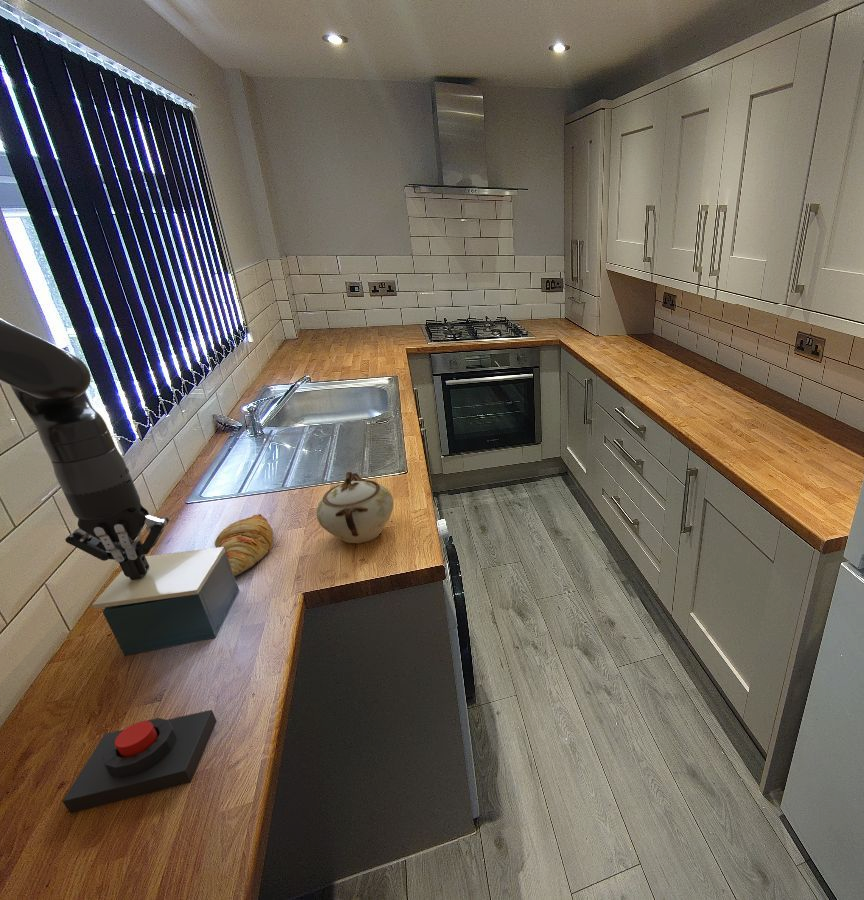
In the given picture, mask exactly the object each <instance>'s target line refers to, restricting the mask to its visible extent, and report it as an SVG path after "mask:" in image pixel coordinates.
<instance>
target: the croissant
mask: <svg viewBox="0 0 864 900" xmlns="http://www.w3.org/2000/svg"><path fill="white" fill-rule="evenodd" d="M273 536H274V534H273V528H272V527H271V524H270V523H269V522H268V519H267V518H266V517H265V516H263V515H262V514H261V513H259V514H253V515H252V516H250V517H247V518H244V519H239V520H237V521H235V522H233V523H230V524H229V525H228V526H226V527H225V528H223V530H222V531H220V532H219V534H218V535H217V537H216V538H215V540H214V544H213V545H214V548H218V547H224V549H225V552H226V554H227V557H228V560H229V563H230V566H231V568H232V571H233V574H234V577H236V576H238V575H240V574H242V573H243V572H245V571H247V570H249V569H250V568H252V567H253V566H254V565H255V564H256V563H258V562H259V561H261V560H262V559H263V558H264V557H265V556H266V555H267V554H268V553H270V552H271V551H272V550H273V542H274V541H273V540H274V539H273Z"/></svg>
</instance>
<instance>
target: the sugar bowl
mask: <svg viewBox="0 0 864 900" xmlns="http://www.w3.org/2000/svg"><path fill="white" fill-rule="evenodd" d="M393 509H394V498H393V496H392V494H391V492H390V491H389V490H388V488H386V487H385V486H384V485H382V484H380V483H378V482H377V481H374V480H370V479H363V478H361V477H360V475H359V473H357V472H352V471H348V472H346V474H345V480H344V481H343V483H341V484H338V485H335V486H334V487H333V486H332V487H331V488H330V489H328V491H326V492H325V493H324V494H323V496H322V498H321V499H320V501H319V502H318V505H317V507H316V519H317V522H318V523H319V525H320V527H322V529H323V530H325V531H326V532H328V533H329V534H331V535H333V537H336V538H338V539H340V540H341V541H342V542H344V543H346V544H351V543H356V544H362V542H363V543H367V542H370V541H373V540H375V539H376V538H377V537H378V536H380V535H381V534H382V532H383V530H384V528H385V526H386V525H387V523H388V521H389V519H390V518H391V515H392V512H393V511H394V510H393ZM380 533H381V534H380ZM379 534H380V535H379Z"/></svg>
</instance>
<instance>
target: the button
mask: <svg viewBox="0 0 864 900" xmlns="http://www.w3.org/2000/svg"><path fill="white" fill-rule="evenodd" d="M122 730H123V731H122V732H121V733H120V734H119V735H118V736H117V738H116V739H115V746H116V747H117V749H118V751H119V753H120V755H121V756H123V757H131V756H135V755H137V754H139V753H141V752H142V751H144V750H146V749H148V748H149V747H150V746H151V745H152V744H153V743H154V742H155V741H156V739H157V732H156V730H155V728H154V726H153V724H152V723H151V722H149V721H147V720H142V721H138V722H135V723H132V724H131V725H129V726H127V727H125V728H124V729H122Z"/></svg>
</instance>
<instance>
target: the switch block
mask: <svg viewBox="0 0 864 900" xmlns="http://www.w3.org/2000/svg"><path fill="white" fill-rule="evenodd" d="M146 721H149V722H151V723H152V724H153V726H154V728H155V730H156V732H157V739H156V741H155V742H154V743H153V744H152V745H151V746H150V747H149V748H148V749H146V750H144V751H142V752H141V753H139V754H137V755H135V756H131V757H123V756H121V755H120V753H119V751H118V749H117V747H116V746H115V739H116V738H117V736H118V735H119V734H120V733H121V732H122V731H123V730H124V729H121V730H116V731H111V732H108V733H104V734H103V736H102V737H101V739H100V740H99V742H98V744H97V745H96V747H95V749H94V750H93V752H92V753H91V755H90V757H89V758H88V760H87V761H86V763H85V765H84V766H83V768H82V769H81V771H80V772H79V774H78V775H77V776H76V779H75V780H74V782H73V784H72V785H71V787H70V789H69V790H68V791H67V793H66V795H65V796H64V798H63V799H62V803H63V805H64V806H65V808H66V809H67V811H68V812H69V814H73V813H78V812H81V811H85V810H89V809H93V808H97V807H101V806H105V805H108V804H109V805H110V804H113V803H116V802H120V801H123V800H124V801H125V800H128V799H132V798H136V797H140V796H143V795H148V794H152V793H156V792H159V791H164V790H167V789H170V788H171V789H172V788H175V787H179V786H183V785H187V784H190V783H192V781H193V779H194V776H195V773H196V771H197V769H198V767H199V764H200V761H201V759H202V757H203V755H204V752H205V751H206V750H205V749H206V747H207V745H208V742H209V741H210V737H211V735H212V733H213V732H214V731H213V730H214V728H215V726H216V723H217V719H216V717H215V714H214V711H213V710H212V709H209V710H204V711H200V712H196V713H195V712H194V713H192V714H191V713H190V714H187V715H183V716H177V717H174V718H169V719H164V718H159V717H157V718H153V719H152V718H151V719H148V720H146Z"/></svg>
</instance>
